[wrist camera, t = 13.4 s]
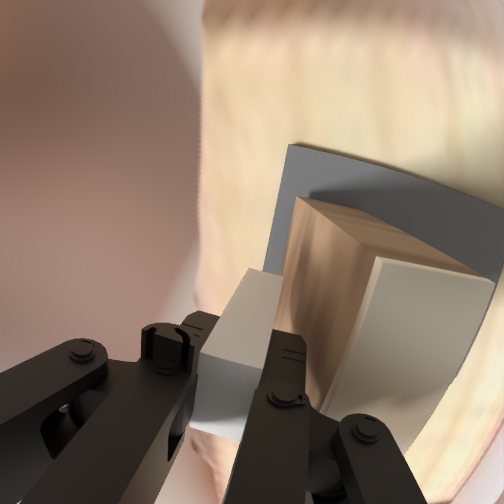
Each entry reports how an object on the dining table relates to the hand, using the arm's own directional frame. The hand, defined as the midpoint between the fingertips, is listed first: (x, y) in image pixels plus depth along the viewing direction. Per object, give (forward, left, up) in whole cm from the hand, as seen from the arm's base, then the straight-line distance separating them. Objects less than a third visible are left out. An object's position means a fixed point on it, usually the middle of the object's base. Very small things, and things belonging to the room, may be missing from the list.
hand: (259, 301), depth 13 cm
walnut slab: (0, +2, -7) cm, 7 cm away
